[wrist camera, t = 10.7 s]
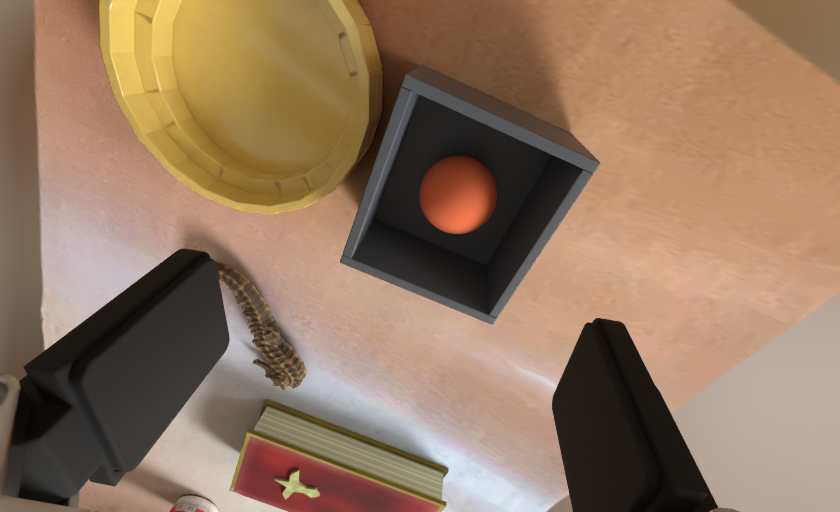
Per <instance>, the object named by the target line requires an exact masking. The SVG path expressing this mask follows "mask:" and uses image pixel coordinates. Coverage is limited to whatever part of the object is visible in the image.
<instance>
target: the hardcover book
mask: <svg viewBox="0 0 840 512" xmlns="http://www.w3.org/2000/svg"><path fill="white" fill-rule="evenodd" d="M447 473H448V468H445V467H443V466H440V465H437V464H435V463H432V462H430V461H427V460H424V459H422V458H419V457H416V456H414V455H411V454H409V453H406V452H403V451H401V450H398V449H395V448H393V447H390V446H388V445H385V444H382V443H380V442H377V441H374V440H372V439H369V438H367V437H364V436H361V435H359V434H356V433H354V432H351V431H348V430H346V429H343V428H340V427H338V426H335V425H333V424H330V423H327V422H325V421H322V420H319V419H317V418H314V417H312V416H309V415H306V414H304V413H301V412H298V411H296V410H293V409H291V408H288V407H285V406H283V405H280V404H277V403H275V402H272V401H270V400H267V399H266V400H265V402H264V405H263V408H262V411H261V414H260V418H259V421H258V423H257V425H256V427H255V428H254V430H251V429H249V430H248V431H247V434H246V437H245V441H244V444H243V447H242V450H241V454H240V457H239V460H238V464H237V467H236V470H235V474H234V477H233V480H232V484H231V487H230V490H229V491H232V492H235V493H238V494H241V495H243V496H246V497H249V498H252V499H255V500H257V501H260V502H263V503H266V504H269V505H271V506H274V507H277V508H280V509H283V510H286V511H288V512H441V511H442V510H443V509H444V508H445V507H446V502H445V501H442V500H441V499H442V486H443V478H444V477H445V475H446V474H447Z"/></svg>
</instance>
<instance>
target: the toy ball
mask: <svg viewBox="0 0 840 512" xmlns="http://www.w3.org/2000/svg"><path fill="white" fill-rule="evenodd" d="M419 198H420V204H421V208H422V211H423V213H424V215H425V216H426V218H427V219H428V220H429V222H430V223H431V224H433V225H434V226H435V227H436V228H438V229H440V230H442V231H444V232H447V233H452V234H463V233H468V232H471V231H474V230H476V229H478V228H479V227H481V226H482V225H483V224H484V223H485V222H486V221H487V220H488V219H489V218H490V216H491V215H492V213H493V211H494V209H495V206H496V202H497V186H496V182H495V180H494V177H493V175H492V174H491V172H490V171H489V169H488V168H487V167H486V166H485V165H484V164H482V163H481V162H480V161H478V160H476V159H474V158H471V157H468V156H461V155H456V156H450V157H446V158H444V159H442V160H440V161H438V162H437V163H435V164H434V165H433V166H432V167H431V168H430V169H429V170H428V171H427V173H426V174H425V176H424V178H423V180H422V182H421V186H420V192H419Z"/></svg>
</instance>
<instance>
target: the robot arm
mask: <svg viewBox="0 0 840 512" xmlns="http://www.w3.org/2000/svg"><path fill="white" fill-rule="evenodd" d="M228 344H229V332H228V327H227V321H226V316H225V310H224V305H223V299H222V294H221V289H220V283H219V278H218V272H217V267H216V263H215V261H214V260H213V259H211V258H210V256H209V254H208V253H206V252H202V251H197V250H191V249H185V248H184V249H180V250H178V251H176V252H175V253H174V254H172V255H171V256H170V257H168V258H167V259H166V260H164V261H163V262H162V263H160V264H159V265H158V266H156V267H155V268H154V269H152V270H151V271H150V272H148V273H147V274H146V275H144V276H143V277H142V278H141V279H139V280H138V281H137V282H135V283H134V284H133V285H131V286H130V287H129V288H127V289H126V290H125V291H123V292H122V293H121V294H119V295H118V296H117V297H115V298H114V299H113V300H111V301H110V302H109V303H107V304H106V305H105V306H103V307H102V308H101V309H100V310H98V311H97V312H96V313H94V314H93V315H92V316H90V317H89V318H88V319H86V320H85V321H84V322H82V323H81V324H80V325H78V326H77V327H76V328H74V329H73V330H72V331H70V332H69V333H68V334H66V335H65V336H64V337H62V338H61V339H60V340H58V341H57V342H56V343H55V344H53V345H52V346H51V347H49V348H48V349H47V350H45V351H44V352H43V353H41V354H40V355H39V356H37V357H36V358H35V359H33V360H32V361H31V362H29V363H28V364H27V365H25V366H24V369H25V370H26V372H27V374H28V375H27V376H26V377H24V378H23V379H21V380H20V381H18V380H17V379H16V378H15V377H14V376H11V375H7V374H4V373H0V512H96V511H90V510H85V509H79V491H80V489H81V488H82V487H83V485H84V484H85V483H86V482H87V481H88V480H90V481H91V482H95V483H100V484H105V485H110V486H116V485H117V483H118V482H119V481H120V480H121V478H122V477H123V476H124V474H125V473H126V472H130V471H132V470H134V469H135V468H136V467H137V466H138V465H139V464H140V462H141V461H142V460H143V458H144V457H145V456H146V454H147V453H148V452H149V450H150V449H151V448H152V447H153V445H154V444H155V443H156V441H157V440H158V439H159V437H160V436H161V435H162V434H163V432H164V431H165V430H166V428H167V427H168V426H169V424H170V423H171V422H172V420H173V419H174V418H175V417H176V415H177V414H178V413H179V411H180V410H181V409H182V407H183V406H184V405H185V403H186V402H187V401H188V400H189V398H190V397H191V396H192V394H193V393H194V392H195V390H196V389H197V388H198V387H199V385H200V384H201V383H202V381H203V380H204V379H205V377H206V376H207V375H208V373H209V372H210V371H211V370H212V368H213V367H214V366H215V364H216V363H217V362H218V360H219V359H220V358H221V356H222V355H223V354H224V353H225V351H226V349H227V347H228ZM552 410H553V415H554V420H555V425H556V430H557V435H558V440H559V445H560V449H561V454H562V459H563V464H564V469H565V474H566V479H567V484H568V489H569V494H570V499H571V504H572V508H573V512H739V511H736V510H733V509H728V508H718V506H717V504H716V502H715V500H714V498H713V496H712V494H711V492H710V490H709V488H708V486H707V484H706V483H705V480H704V479H703V477H702V475H701V473H700V471H699V469H698V467H697V465H696V463H695V461H694V459H693V457H692V455H691V453H690V451H689V449H688V447H687V445H686V443H685V441H684V439H683V437H682V435H681V433H680V431H679V429H678V427H677V425H676V423H675V421H674V419H673V417H672V415H671V413H670V411H669V409H668V407H667V405H666V403H665V401H664V399H663V397H662V395H661V393H660V392H659V390H658V389H657V387H656V386H655V385H654V383H653V381H652V379H651V377H650V375H649V373H648V371H647V369H646V367H645V365H644V363H643V361H642V359H641V357H640V355H639V353H638V351H637V349H636V347H635V345H634V343H633V341H632V339H631V337H630V335H629V333H628V331H627V329H626V327H625V325H624V324H623V323H622V322H619V321H613V320H607V319H601V318H596V319H595V320H594V321H593V322H592V323H586V324H585V326H584V328H583V330H582V332H581V334H580V337H579V339H578V341H577V343H576V346H575V348H574V350H573V352H572V355H571V357H570V359H569V361H568V364H567V366H566V368H565V370H564V373H563V375H562V377H561V379H560V382H559V384H558V386H557V388H556V391H555V393H554V396H553V400H552Z"/></svg>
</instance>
